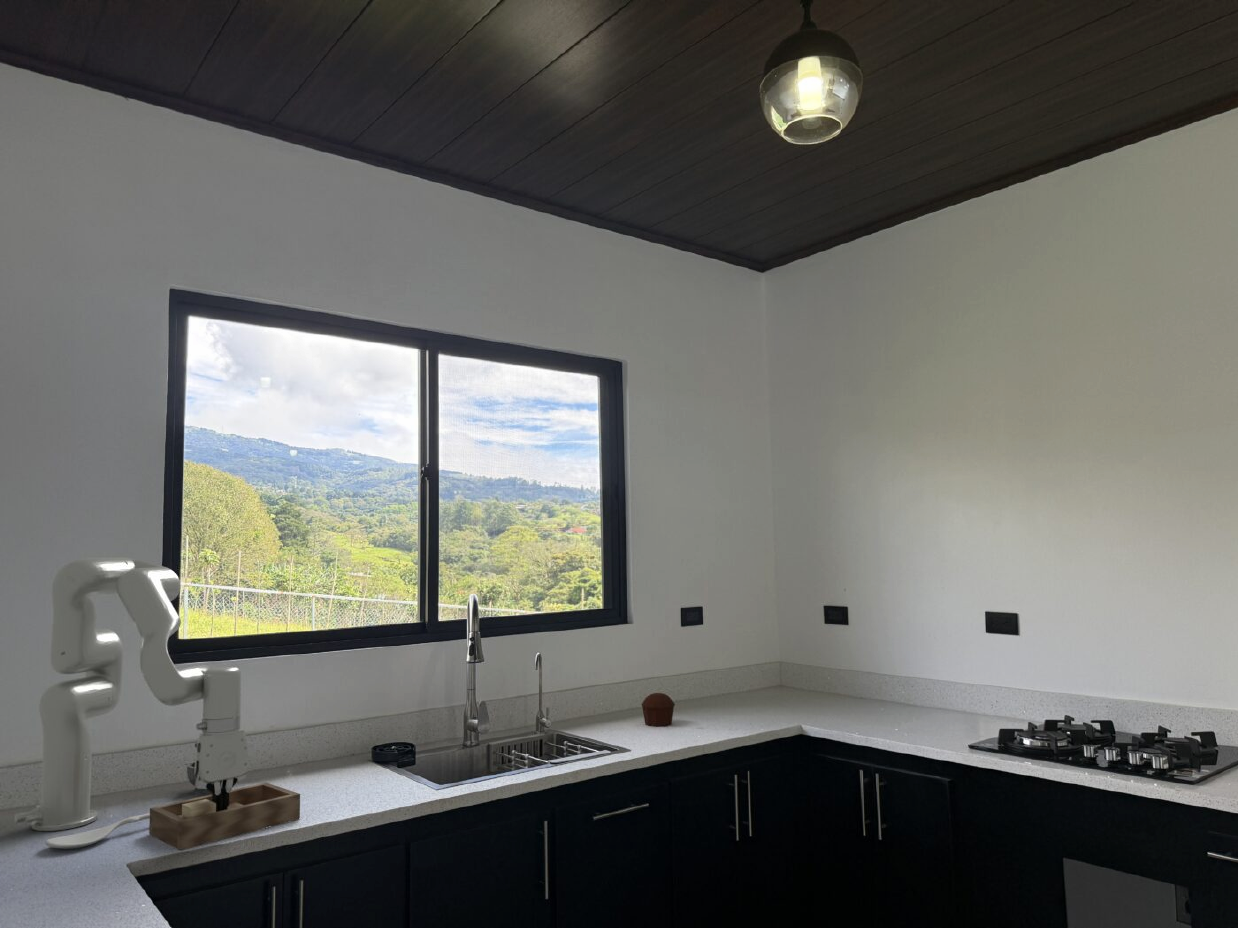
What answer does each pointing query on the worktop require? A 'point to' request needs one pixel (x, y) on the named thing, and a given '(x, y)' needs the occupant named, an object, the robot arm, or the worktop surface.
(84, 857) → the worktop surface
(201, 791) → the mortar and pestle
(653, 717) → the muffin
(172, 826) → the box
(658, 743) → the worktop surface
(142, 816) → the spoon
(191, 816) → the maple block
